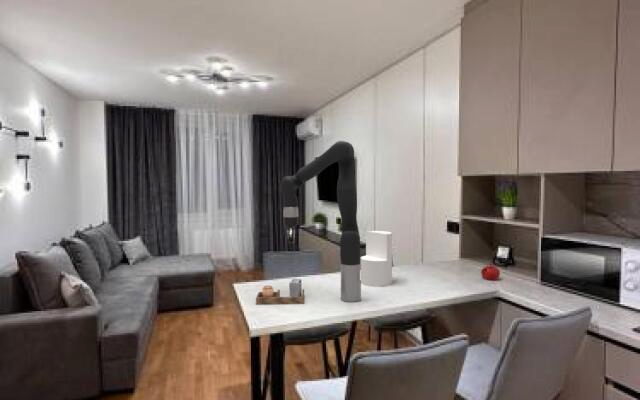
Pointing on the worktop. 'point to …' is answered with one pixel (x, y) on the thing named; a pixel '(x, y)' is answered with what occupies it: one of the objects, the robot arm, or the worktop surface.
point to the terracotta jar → (267, 291)
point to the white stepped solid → (377, 259)
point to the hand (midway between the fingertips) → (291, 250)
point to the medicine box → (295, 288)
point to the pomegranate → (490, 272)
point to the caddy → (278, 299)
